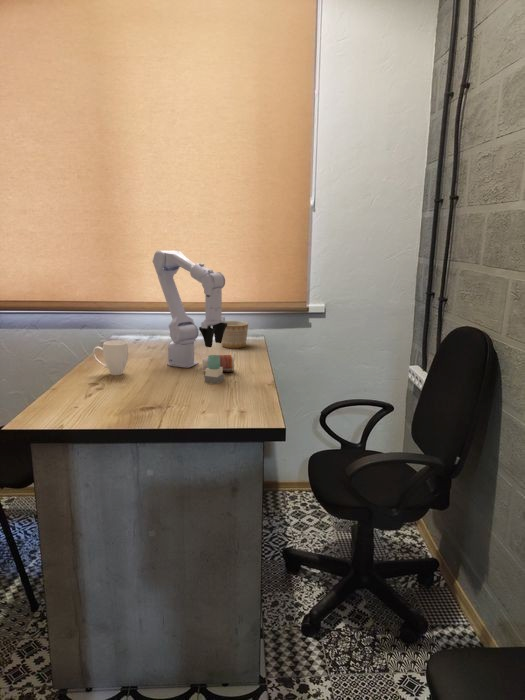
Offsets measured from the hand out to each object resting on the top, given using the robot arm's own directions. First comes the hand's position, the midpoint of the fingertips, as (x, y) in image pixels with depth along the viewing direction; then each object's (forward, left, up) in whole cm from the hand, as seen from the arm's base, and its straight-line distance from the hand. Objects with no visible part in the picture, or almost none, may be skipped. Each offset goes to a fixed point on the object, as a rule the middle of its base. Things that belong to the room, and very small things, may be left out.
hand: (213, 344), depth 180 cm
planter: (-12, +43, -11) cm, 46 cm away
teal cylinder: (+5, -9, -6) cm, 12 cm away
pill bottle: (+6, +5, -7) cm, 11 cm away
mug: (-32, -17, -11) cm, 38 cm away
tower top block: (+5, -9, -8) cm, 13 cm away
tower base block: (+5, -9, -11) cm, 15 cm away
